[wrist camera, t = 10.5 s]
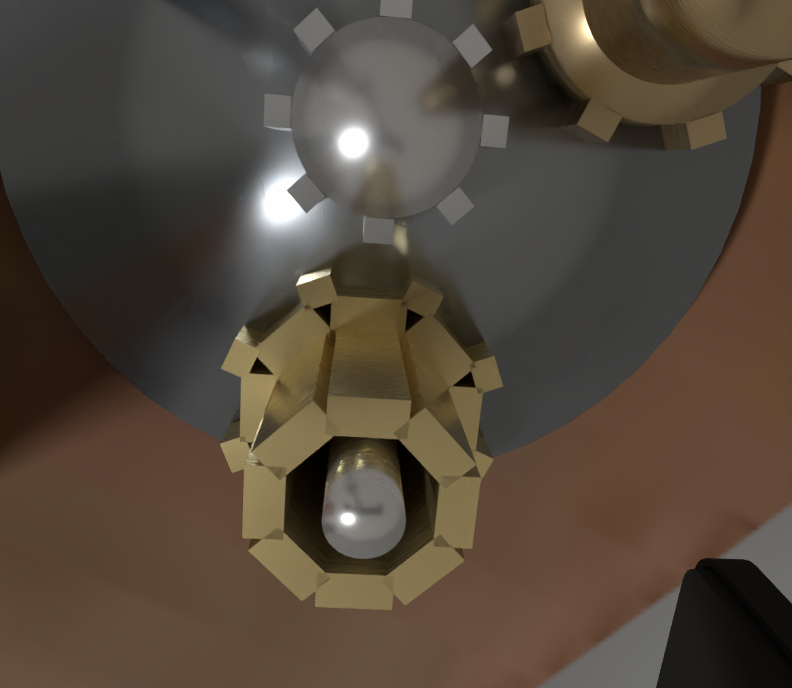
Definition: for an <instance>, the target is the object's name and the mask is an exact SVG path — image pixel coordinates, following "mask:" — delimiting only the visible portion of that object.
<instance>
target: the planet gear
mask: <svg viewBox="0 0 792 688" xmlns="http://www.w3.org/2000/svg"><path fill="white" fill-rule="evenodd" d="M296 287H297V290H298V293H299V295H300V298H301V302H300V303H298V304H297V305H296V306H295V307H294V308H293V309H292V310H290V311H289V312H288V313H287V314H286V315H285V316H283V317H282V318H281V319H280V320H279V321H278V322H276V323H275V324H274V325H273V326H272V327H271V328H269V329H268V330H267V331H266V332H265V333H264V334H263V333H261V332H259V331H257V330H255V329H253V328H251V327H249V326H246V325H244V326H243V328H242V329H241V331H240V332H239V334H238V335H237V336H236V338H235V340H234V342H233V344H232V346H231V348H230V350H229V352H228V355H227V357H226V359H225V361H224V363H223V365H222V367H221V369H223V370H225V371H227V372H230V373H232V374H234V375H236V376H238V377H241V407H240V420H237V421H234V422H231V423H230V424H229V426H228V428H227V430H226V432H225V434H224V436H223V438H222V440H221V442H220V446H221V448H222V450H223V453H224V455H225V457H226V460H227V462H228V464H229V467H230V469H231V471H232V473H233V472H236V471H239V470H242V469H244V496H243V533H242V538H252V539H251V542H250V546H249V549H248V551H249V552H250V553H251V554H252V555H253V556H254V557H255V558H257V559H258V560H259V561H260V562H261V563H262V564H263V565H264V566H265V567H266V568H267V569H268V570H269V571H270V572H271V573H272V574H273V575H275V576H276V577H277V578H278V579H279V580H280V581H281V582H282V583H283V584H284V585H285V586H286V587H287V588H288V589H289V590H290V591H292V592H293V593H294V594H295V595H296V596H297V597H298V598H299V599H300V600H301V601H303V600H304V599H305V598H307V597H308V596H309V595H311V594H312V593H313V592H314V591H316V599H315V607H332V608H357V609H382V610H392V602H393V594H394V595H395V596H396V597H397V598H398V599H399V600H400V601H401V602H402V603H403V604H404V605H407V604H408V603H409V602H411V601H412V600H413V599H415V598H416V597H417V596H419V595H420V594H421V593H422V592H424V591H425V590H426V589H428V588H429V587H430V586H432V585H433V584H434V583H436V582H437V581H438V580H440V579H441V578H442V577H444V576H445V575H446V574H447V573H449V572H450V571H451V570H453V569H454V568H455V567H457V566H458V565H459V564H461V563H462V562H463V561H465V559H464V555H463V551H462V548H467V549H472V545H473V537H474V529H475V521H476V513H477V505H478V497H479V489H480V482H481V480H482V478H483V476H484V475H485V473H486V471H487V470H488V468H489V466H490V465H491V463H492V461H493V460H494V458H493V456H492V454H491V452H490V449H489V447H488V445H487V442H486V440H485V438H484V437H482V436H480V435H478V429H479V421H480V413H481V404H482V396H483V393H484V392H487V391H490V390H494V389H497V388H500V387H503V384H502V380H501V377H500V374H499V370H498V367H497V363H496V360H495V357H494V355H493V353H492V352H491V350H490V349H489V347H488V346H487V344H486V343H485V341H483V342H480V343H477V344H473V345H470V346H467V347H465V346H464V345H463V344H462V343H461V342H460V340H459V339H458V338H457V337H456V336H455V335H454V333H453V332H452V331H451V330H450V329H449V328H448V326H447V325H446V324H445V323H444V322H443V321H442V319H441V318H440V317H439V316H438V315H437V314H436V310H437V308H438V307H439V305H440V303H441V301H442V299H443V297H444V296H443V294H442V292H441V290H440V289H439V287H438V286H437V285H435V284H433V283H431V282H429V281H427V280H426V279H424V278H422V277H420V276H418V275H416V274H414V273H412V272H410V271H409V272H408V274H407V276H406V278H405V280H404V282H403V284H402V286H401V288H400V289H388V288H374V287H360V286H346V285H339V284H338V281H337V278H336V275H335V272H334V269H333V267H332V266H329V267H326V268H323V269H320V270H317V271H314V272H311V273H308V274H305V275H302V276H301V277H300V279H299V281H298V283H297V285H296ZM330 303H331V313H330V312H329V311H328V309H327V308H326V307H325V306H324V305H326V304H330ZM407 308H408V309H410V310H412V311H411V312H410V313H409V314H408V315H407ZM406 315H407V316H406ZM333 436H349V437H367V438H384V439H396V441H397V449H398V458H399V466H400V474H401V482H402V490H403V498H404V507H405V515H406V526H405V531H404V534H403V536H402V538H401V539H400V541H399V542H398V543H397V545H396V546H395V547H394V548H392V549H391V550H390V551H388V552H387V553H385V554H383V555H381V556H378V557H374V558H369V559H358V558H352V557H349V556H346V555H344V554H342V553H340V552H338V551H337V550H336V549H335V548H333V547H332V546H331V544H330V543H329V542H328V540H327V539H326V537H325V535H324V532H323V528H322V514H323V505H324V496H325V487H326V478H327V468H328V459H329V450H330V441H331V438H332V437H333Z"/></svg>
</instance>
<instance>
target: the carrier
mask: <svg viewBox="0 0 792 688" xmlns="http://www.w3.org/2000/svg"><path fill="white" fill-rule="evenodd" d="M791 81H792V0H0V172H1V176H2V180H3V184H4V187H5V191H6V195H7V198H8V200H9V203H10V205H11V208H12V210H13V213H14V215H15V218H16V220H17V223H18V225H19V228H20V231H21V233H22V236H23V238H24V241H25V243H26V245H27V247H28V249H29V251H30V253H31V254H32V256H33V258H34V260H35V262H36V264H37V265H38V267H39V269H40V271H41V273H42V275H43V277H44V278H45V280H46V282H47V284H48V286H49V288H50V289H51V291H52V292H53V294H54V295H55V296H56V298H57V299H58V301H59V302H60V303H61V305H62V306H63V308H64V309H65V310H66V312H67V313H68V315H69V316H70V317H71V319H72V320H73V322H74V323H75V324H76V326H77V327H78V329H79V330H80V331H81V332H82V333H83V334H84V336H85V337H86V338H87V339H88V340H89V341H90V342H91V343H92V344H93V345H94V347H95V348H96V349H97V350H98V351H99V352H100V353H101V354H102V355H103V356H104V358H105V359H106V360H107V361H108V362H109V363H110V364H111V365H112V366H113V367H114V368H115V369H116V370H117V371H119V372H120V373H121V374H122V375H123V376H124V377H125V378H127V379H128V380H129V381H130V382H131V383H132V384H134V385H135V386H136V387H137V388H138V389H139V390H141V391H142V392H143V393H144V394H145V395H146V396H147V397H149V398H150V399H152V400H153V401H155V402H156V403H158V404H159V405H160V406H162V407H163V408H165V409H166V410H168V411H169V412H171V413H172V414H174V415H175V416H177V417H178V418H180V419H181V420H183V421H184V422H186V423H187V424H189V425H191V426H193V427H195V428H197V429H199V430H201V431H203V432H205V433H207V434H209V435H211V436H212V437H214V438H216V439H218V440H220V441H221V440H222V438H223V436H224V434H225V432H226V430H227V428H228V426H229V424H230V423H231V422H234V421H237V420H240V407H241V377H238V376H236V375H234V374H232V373H230V372H227V371H225V370H223V369H221V367H222V365H223V363H224V361H225V359H226V357H227V355H228V352H229V350H230V348H231V346H232V344H233V342H234V340H235V338H236V336H237V335H238V334H239V332H240V331H241V329H242V328H243V326H244V325H246V326H249V327H251V328H253V329H255V330H257V331H259V332H261V333H263V334H264V333H265V332H266V331H267V330H268V329H269V328H271V327H272V326H273V325H274V324H275V323H276V322H278V321H279V320H280V319H281V318H282V317H283V316H285V315H286V314H287V313H288V312H289V311H290V310H292V309H293V308H294V307H295V306H296V305H297V304H298V303H300V302H301V298H300V295H299V293H298V290H297V287H296V285H297V283H298V281H299V279H300V277H301V276H302V275H305V274H308V273H311V272H314V271H317V270H320V269H323V268H326V267H329V266H332V267H333V269H334V272H335V275H336V278H337V281H338V284H339V285H346V286H360V287H374V288H388V289H400V288H401V286H402V284H403V282H404V280H405V278H406V276H407V274H408V272H409V271H410V272H412V273H414V274H416V275H418V276H420V277H422V278H424V279H426V280H427V281H429V282H431V283H433V284H435V285H437V286H438V287H439V289H440V290H441V292H442V294H443V296H444V297H443V299H442V301H441V303H440V305H439V307H438V308H437V310H436V314H437V315H438V316H439V317H440V318H441V319H442V321H443V322H444V323H445V324H446V325H447V326H448V328H449V329H450V330H451V331H452V332H453V333H454V335H455V336H456V337H457V338H458V339H459V340H460V342H461V343H462V344H463V345H464V346H465V347H467V346H470V345H473V344H477V343H480V342H483V341H485V343H486V344H487V346H488V347H489V349H490V350H491V352H492V353H493V355H494V357H495V360H496V363H497V367H498V370H499V374H500V377H501V380H502V384H503V387H500V388H497V389H494V390H490V391H487V392H484V393H483V396H482V404H481V413H480V421H479V429H478V435H480V436H482V437H484V438H485V440H486V442H487V445H488V447H489V449H490V452H491V454H492V456H493V457H495V456H497V455H500V454H503V453H505V452H508V451H511V450H513V449H516V448H519V447H521V446H524V445H527V444H529V443H531V442H533V441H535V440H536V439H538V438H540V437H542V436H544V435H546V434H548V433H550V432H552V431H554V430H556V429H558V428H560V427H562V426H563V425H565V424H567V423H569V422H570V421H572V420H573V419H575V418H576V417H577V416H579V415H580V414H582V413H583V412H585V411H586V410H588V409H589V408H591V407H592V406H594V405H595V404H597V403H598V402H600V401H601V400H602V399H604V398H605V397H606V396H607V395H609V394H610V393H611V392H612V391H613V390H614V389H615V388H617V387H618V386H619V385H620V384H621V383H622V382H624V381H625V380H626V379H627V378H628V377H629V376H630V375H632V374H633V373H634V372H635V371H636V370H637V369H639V367H640V366H641V365H642V364H643V363H644V362H645V361H646V360H647V359H648V358H649V356H650V355H651V354H652V353H653V352H654V351H655V350H656V349H657V348H658V347H659V345H660V344H661V343H662V342H663V341H664V340H665V339H666V338H667V337H668V336H669V334H670V333H671V332H672V330H673V329H674V328H675V326H676V325H677V323H678V322H679V321H680V319H681V318H682V316H683V315H684V314H685V312H686V311H687V309H688V308H689V307H690V305H691V304H692V302H693V301H694V300H695V298H696V297H697V295H698V293H699V292H700V290H701V288H702V286H703V284H704V283H705V281H706V279H707V277H708V275H709V274H710V272H711V270H712V268H713V266H714V265H715V263H716V261H717V259H718V257H719V256H720V254H721V251H722V249H723V246H724V244H725V241H726V239H727V237H728V234H729V232H730V229H731V227H732V224H733V222H734V219H735V217H736V215H737V212H738V210H739V207H740V203H741V200H742V196H743V192H744V189H745V185H746V182H747V178H748V174H749V171H750V167H751V164H752V160H753V154H754V147H755V141H756V134H757V128H758V121H759V115H760V107H761V85H763V86H767V85H773V84H779V83H785V82H791ZM324 306H325V307H326V308H327V309H328V311H329V312H330V313H331V303H330V304H326V305H324ZM411 311H412V310H410V309H408V308H407V315H408V314H409V313H410V312H411ZM407 315H406V316H407ZM405 526H406V515H405V507H404V498H403V490H402V482H401V474H400V466H399V458H398V449H397V441H396V439H384V438H367V437H349V436H333V437H332V438H331V441H330V450H329V459H328V468H327V478H326V487H325V496H324V505H323V514H322V528H323V532H324V535H325V537H326V539H327V540H328V542H329V543H330V544H331V546H332V547H333V548H335V549H336V550H337V551H338V552H340V553H342V554H344V555H346V556H349V557H352V558H358V559H369V558H374V557H378V556H381V555H383V554H385V553H387V552H388V551H390V550H391V549H392V548H394V547H395V546H396V545H397V543H398V542H399V541H400V539H401V538H402V536H403V534H404V531H405Z"/></svg>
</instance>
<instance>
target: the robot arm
mask: <svg viewBox="0 0 792 688" xmlns="http://www.w3.org/2000/svg"><path fill="white" fill-rule="evenodd" d="M656 688H792V603H791V602H790V601H789V600H788V599H787V598H786V597H785V596H784V595H783V594H782V593H781V592H780V591H779V590H778V589H777V588H776V587H775V585H773V583H772V582H771V581H770V580H769V579H768V578H767V577H766V576H765V575H764V574H763V573H762V572H761V571H760V570H759V568H758V567H757V566H756V565H754V564H753V563H752V562H750V561H748V560H744V559H715V558H705V559H702V560H700V561H699V562H698V564H697V565H696V567H695V569H691V570H688V571H687V572H686V573H685V575H684V578H683V581H682V585H681V589H680V593H679V597H678V601H677V605H676V610H675V614H674V617H673V621H672V626H671V630H670V633H669V638H668V642H667V646H666V650H665V654H664V658H663V662H662V666H661V670H660V674H659V678H658V682H657V687H656Z"/></svg>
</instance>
